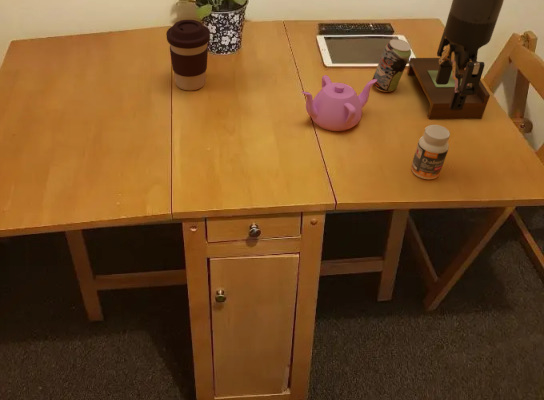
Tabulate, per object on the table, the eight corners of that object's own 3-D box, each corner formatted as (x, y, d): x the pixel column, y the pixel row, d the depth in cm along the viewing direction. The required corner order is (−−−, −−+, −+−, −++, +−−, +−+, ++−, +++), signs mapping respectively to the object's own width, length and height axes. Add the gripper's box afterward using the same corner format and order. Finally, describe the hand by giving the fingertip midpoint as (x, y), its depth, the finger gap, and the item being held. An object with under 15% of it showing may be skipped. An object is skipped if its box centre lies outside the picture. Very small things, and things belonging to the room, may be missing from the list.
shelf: (481, 118, 131) (490, 95, 127) (428, 119, 131) (435, 95, 126) (454, 72, 146) (461, 50, 141) (406, 72, 145) (412, 50, 141)
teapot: (297, 125, 129) (301, 91, 123) (323, 96, 138) (327, 62, 132) (347, 142, 124) (354, 107, 118) (371, 111, 133) (378, 77, 127)
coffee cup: (215, 75, 144) (214, 18, 134) (205, 96, 137) (203, 38, 127) (176, 70, 146) (173, 14, 136) (164, 91, 139) (160, 33, 129)
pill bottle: (418, 182, 115) (430, 142, 108) (405, 164, 119) (416, 124, 112) (444, 178, 116) (458, 138, 109) (431, 160, 120) (444, 121, 113)
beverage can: (370, 80, 143) (379, 35, 135) (400, 82, 142) (411, 37, 134) (371, 94, 138) (380, 48, 130) (403, 96, 138) (414, 50, 129)
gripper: (513, 31, 89) (481, 118, 101) (482, -8, 100) (456, 75, 111) (465, 32, 89) (438, 118, 100) (439, -8, 100) (417, 75, 111)
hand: (447, 96), depth 106 cm, fingers open, 8 cm apart
